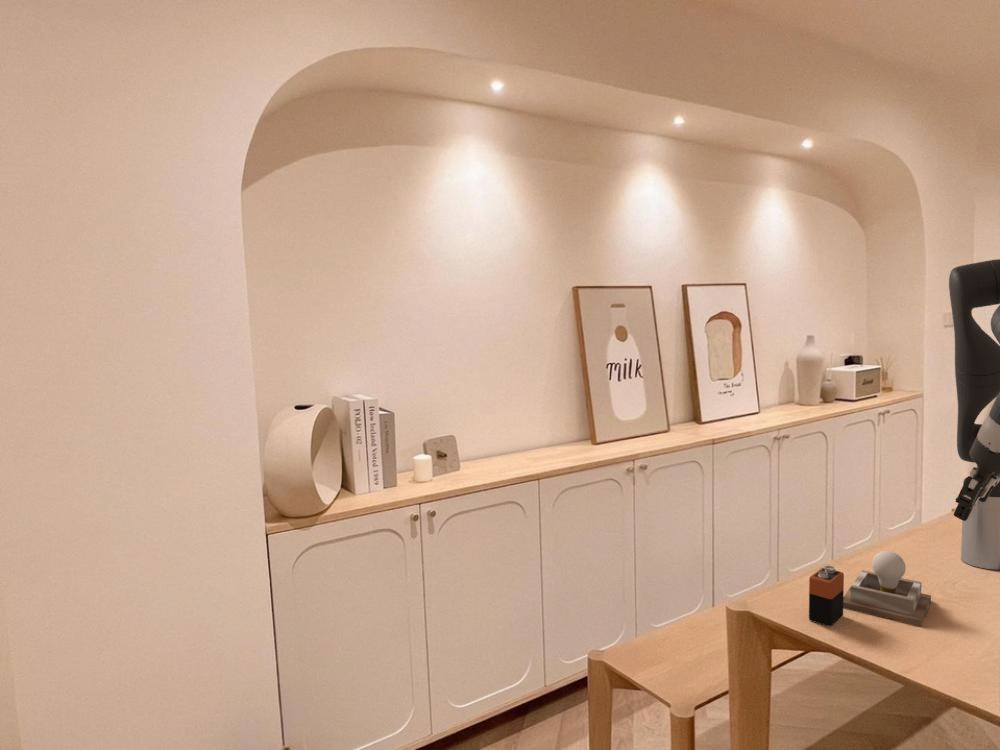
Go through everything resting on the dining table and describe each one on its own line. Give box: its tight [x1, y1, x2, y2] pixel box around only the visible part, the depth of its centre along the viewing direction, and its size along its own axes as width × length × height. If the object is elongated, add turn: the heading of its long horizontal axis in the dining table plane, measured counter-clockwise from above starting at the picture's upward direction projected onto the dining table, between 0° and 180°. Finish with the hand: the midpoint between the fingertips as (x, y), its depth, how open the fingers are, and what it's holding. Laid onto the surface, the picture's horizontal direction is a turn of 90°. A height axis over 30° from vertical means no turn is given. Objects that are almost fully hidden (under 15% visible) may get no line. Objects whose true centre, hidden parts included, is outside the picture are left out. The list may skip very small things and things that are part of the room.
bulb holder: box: [843, 569, 932, 627], centre depth 133 cm, size 14×14×4 cm
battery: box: [808, 565, 845, 627], centre depth 127 cm, size 4×7×10 cm, turn 133°
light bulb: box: [871, 550, 906, 594], centre depth 132 cm, size 6×6×10 cm
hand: (969, 508), depth 124 cm, fingers open, 8 cm apart
